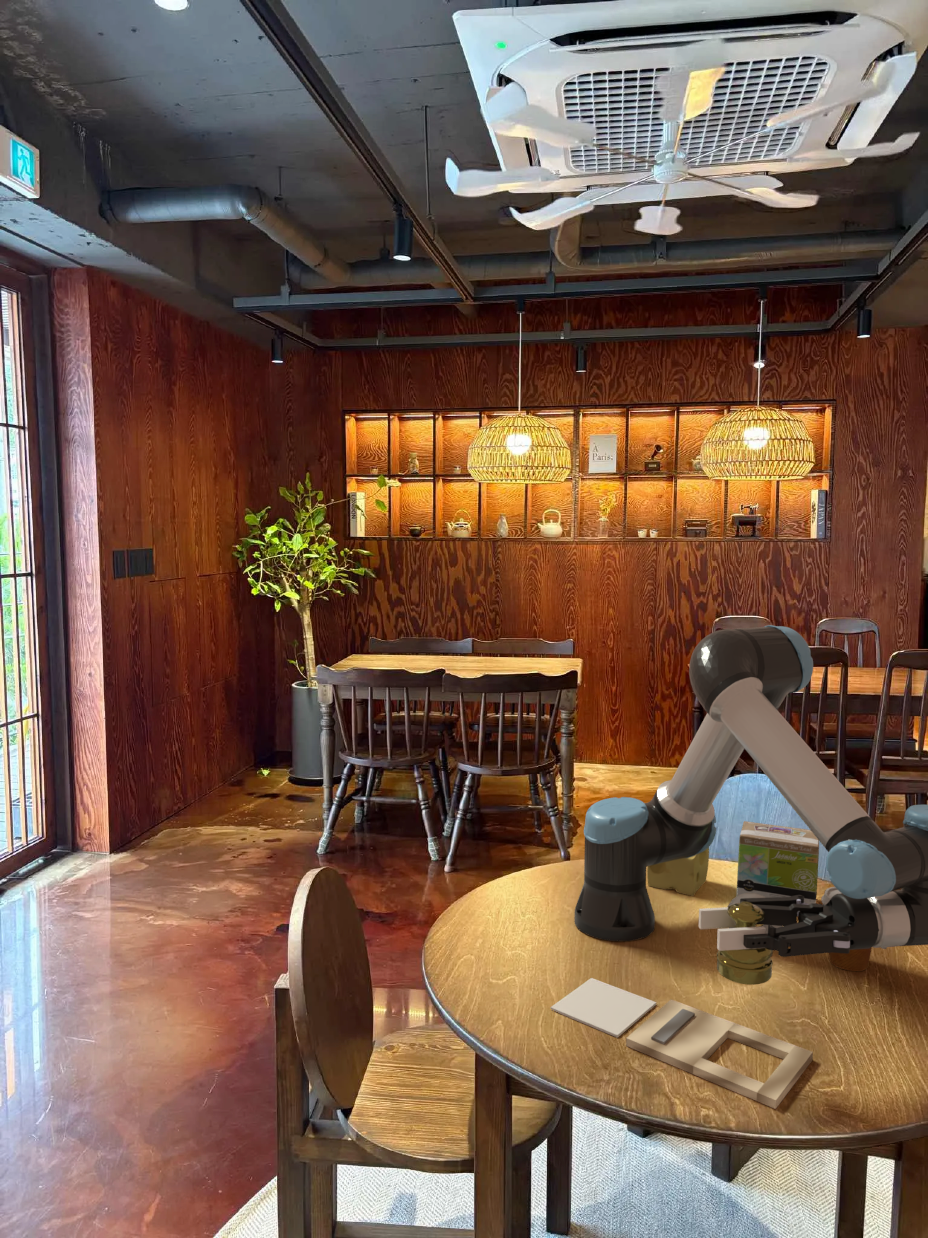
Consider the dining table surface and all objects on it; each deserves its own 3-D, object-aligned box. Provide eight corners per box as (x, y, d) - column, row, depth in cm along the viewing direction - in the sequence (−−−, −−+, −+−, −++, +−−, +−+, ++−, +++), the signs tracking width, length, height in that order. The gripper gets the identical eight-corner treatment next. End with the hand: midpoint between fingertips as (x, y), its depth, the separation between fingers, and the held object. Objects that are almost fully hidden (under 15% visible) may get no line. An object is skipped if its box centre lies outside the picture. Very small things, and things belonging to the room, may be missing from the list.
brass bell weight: (706, 963, 125) (708, 896, 124) (752, 957, 127) (754, 890, 126) (735, 989, 118) (737, 918, 117) (783, 982, 120) (785, 912, 119)
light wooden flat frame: (625, 1046, 128) (626, 1035, 128) (670, 1006, 139) (670, 997, 139) (775, 1109, 114) (775, 1097, 114) (812, 1060, 125) (812, 1049, 125)
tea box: (735, 906, 177) (737, 834, 175) (740, 887, 186) (742, 819, 184) (816, 918, 171) (819, 844, 169) (816, 898, 180) (819, 828, 179)
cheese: (694, 897, 181) (695, 850, 180) (644, 886, 187) (644, 840, 186) (709, 880, 190) (710, 835, 189) (660, 870, 195) (661, 826, 194)
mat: (550, 1009, 138) (550, 1007, 138) (591, 980, 147) (591, 978, 147) (617, 1038, 130) (617, 1035, 130) (656, 1004, 140) (656, 1002, 140)
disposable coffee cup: (885, 979, 148) (888, 910, 146) (824, 973, 150) (827, 905, 148) (870, 952, 157) (873, 887, 156) (814, 947, 159) (816, 883, 158)
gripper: (905, 978, 116) (737, 990, 113) (829, 917, 134) (683, 925, 131) (908, 924, 115) (738, 933, 112) (831, 869, 133) (684, 876, 131)
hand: (709, 929), depth 122 cm, fingers closed on brass bell weight, 6 cm apart
